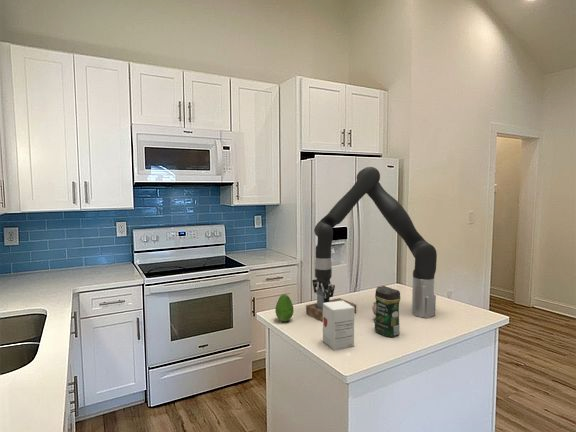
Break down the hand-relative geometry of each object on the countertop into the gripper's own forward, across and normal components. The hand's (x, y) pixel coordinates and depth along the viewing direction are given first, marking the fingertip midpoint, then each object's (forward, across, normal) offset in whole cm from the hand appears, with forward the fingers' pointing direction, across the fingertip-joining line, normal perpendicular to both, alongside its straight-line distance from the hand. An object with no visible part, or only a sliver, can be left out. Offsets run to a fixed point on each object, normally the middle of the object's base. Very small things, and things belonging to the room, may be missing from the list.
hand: (323, 304), depth 171 cm
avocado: (+5, +4, +18) cm, 19 cm away
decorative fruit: (+5, -20, -18) cm, 27 cm away
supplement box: (+5, -27, +14) cm, 31 cm away
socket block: (+5, 0, -5) cm, 7 cm away
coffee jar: (+5, -30, -9) cm, 32 cm away
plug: (+3, 0, 0) cm, 3 cm away
